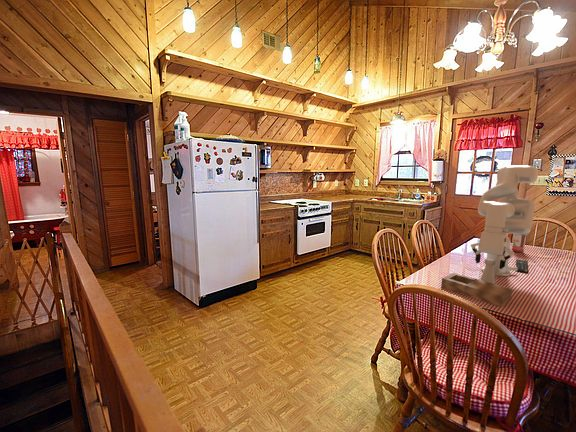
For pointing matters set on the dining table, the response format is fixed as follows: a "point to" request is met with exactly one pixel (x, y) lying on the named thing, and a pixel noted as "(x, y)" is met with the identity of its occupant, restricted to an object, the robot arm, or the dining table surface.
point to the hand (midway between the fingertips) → (489, 265)
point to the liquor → (518, 243)
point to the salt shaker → (489, 271)
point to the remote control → (522, 266)
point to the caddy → (477, 289)
